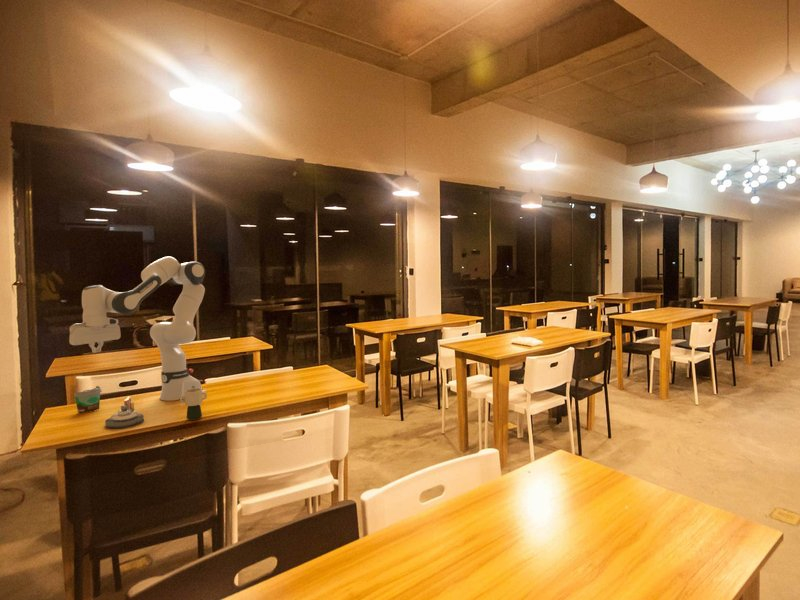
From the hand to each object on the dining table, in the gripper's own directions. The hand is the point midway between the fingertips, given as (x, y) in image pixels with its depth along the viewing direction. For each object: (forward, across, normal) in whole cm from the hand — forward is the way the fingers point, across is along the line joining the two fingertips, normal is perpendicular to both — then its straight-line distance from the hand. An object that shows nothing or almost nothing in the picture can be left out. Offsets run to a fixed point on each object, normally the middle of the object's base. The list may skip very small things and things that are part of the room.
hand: (96, 352), depth 198 cm
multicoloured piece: (+27, -1, -19) cm, 33 cm away
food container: (+29, +3, +11) cm, 31 cm away
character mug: (+29, +14, -44) cm, 55 cm away
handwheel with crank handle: (+29, -2, -21) cm, 36 cm away
